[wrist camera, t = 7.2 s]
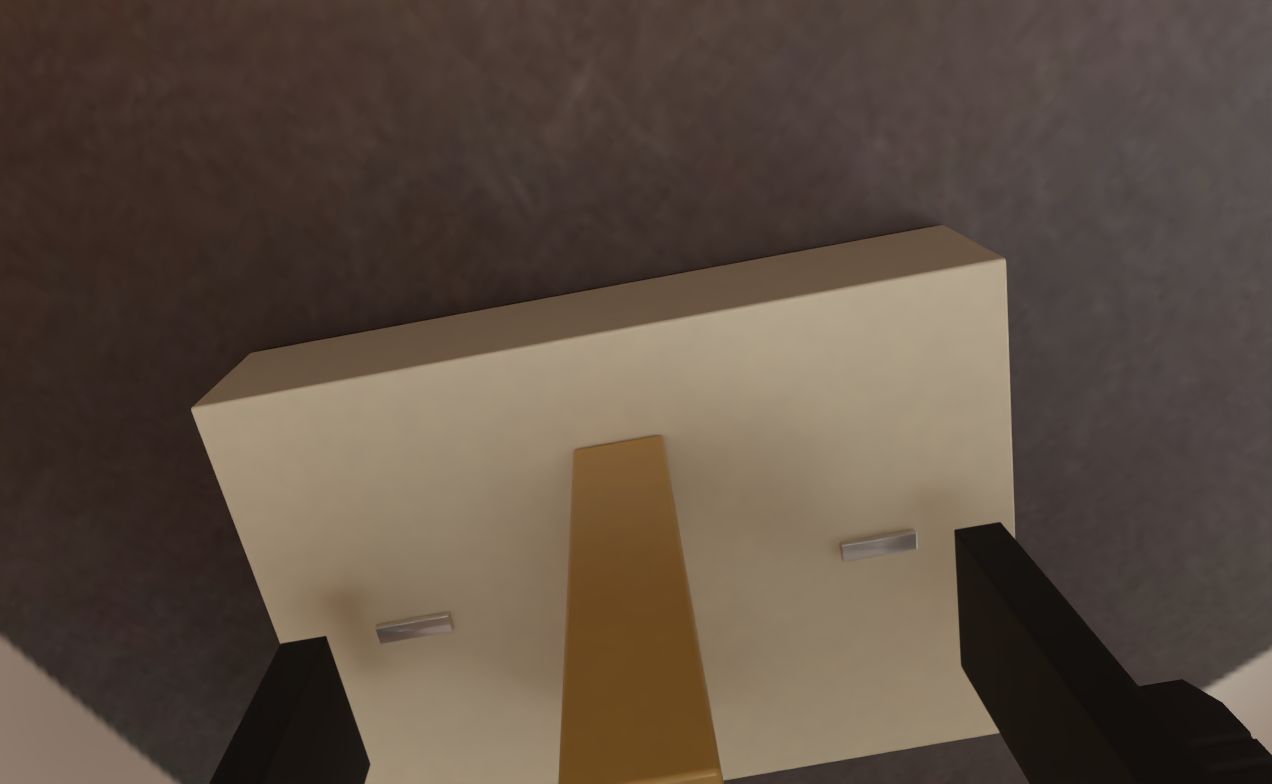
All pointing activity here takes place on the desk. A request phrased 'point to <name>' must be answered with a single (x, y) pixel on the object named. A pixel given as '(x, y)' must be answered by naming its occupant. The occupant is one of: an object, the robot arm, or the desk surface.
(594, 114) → the desk surface
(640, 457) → the tan box with red
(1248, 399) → the desk surface
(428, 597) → the lock plate
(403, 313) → the desk surface
